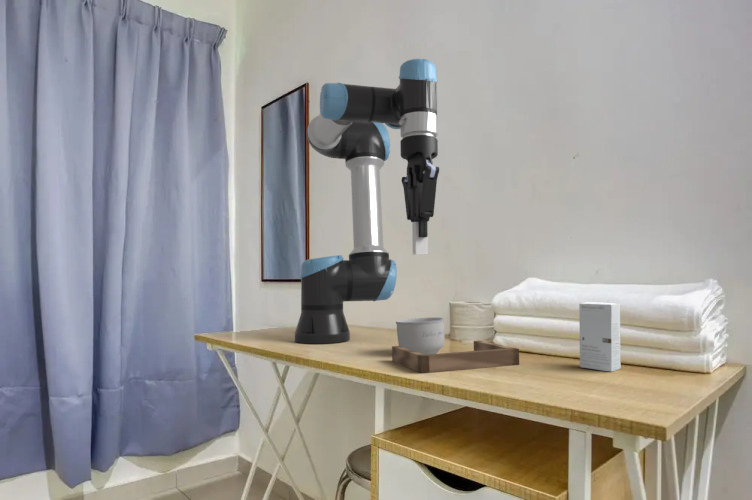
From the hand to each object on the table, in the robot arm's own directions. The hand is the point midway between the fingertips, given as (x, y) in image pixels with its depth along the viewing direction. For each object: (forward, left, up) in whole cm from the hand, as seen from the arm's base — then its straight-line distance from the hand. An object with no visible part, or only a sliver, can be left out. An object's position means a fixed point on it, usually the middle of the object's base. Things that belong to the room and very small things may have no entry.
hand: (420, 254), depth 98 cm
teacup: (-12, +6, -22) cm, 26 cm away
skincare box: (+18, +28, -22) cm, 40 cm away
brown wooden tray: (+1, +6, -22) cm, 23 cm away
